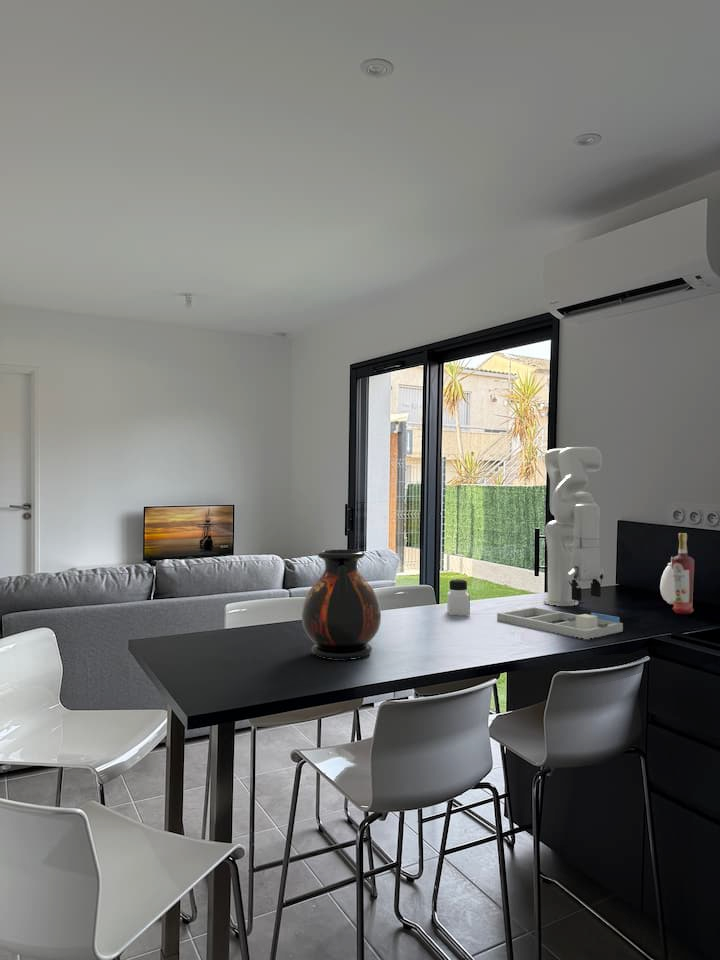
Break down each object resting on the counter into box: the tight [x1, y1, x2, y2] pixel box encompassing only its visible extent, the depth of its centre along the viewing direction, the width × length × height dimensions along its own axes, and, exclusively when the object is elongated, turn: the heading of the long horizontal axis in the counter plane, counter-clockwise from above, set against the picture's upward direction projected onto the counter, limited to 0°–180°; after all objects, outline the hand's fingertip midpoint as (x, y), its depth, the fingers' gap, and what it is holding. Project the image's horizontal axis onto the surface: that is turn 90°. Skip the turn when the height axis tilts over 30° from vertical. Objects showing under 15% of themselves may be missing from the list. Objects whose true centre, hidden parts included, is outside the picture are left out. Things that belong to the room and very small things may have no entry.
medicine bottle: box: [446, 578, 471, 616], centre depth 247 cm, size 7×7×12 cm
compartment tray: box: [496, 606, 624, 640], centre depth 227 cm, size 19×35×4 cm, turn 37°
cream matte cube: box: [576, 613, 597, 630], centre depth 218 cm, size 4×4×5 cm
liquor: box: [670, 532, 695, 616], centre depth 246 cm, size 7×7×28 cm
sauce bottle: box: [659, 555, 674, 605], centre depth 264 cm, size 8×8×18 cm
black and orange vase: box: [301, 549, 382, 659], centre depth 192 cm, size 22×22×28 cm
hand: (586, 598), depth 219 cm, fingers open, 9 cm apart
